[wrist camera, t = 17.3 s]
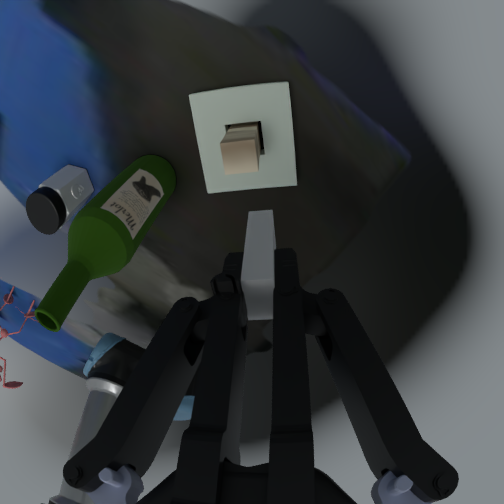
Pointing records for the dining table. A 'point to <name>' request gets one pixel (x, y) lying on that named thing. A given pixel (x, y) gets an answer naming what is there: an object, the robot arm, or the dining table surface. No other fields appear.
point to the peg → (241, 148)
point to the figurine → (9, 299)
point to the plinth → (240, 111)
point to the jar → (58, 198)
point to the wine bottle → (108, 233)
